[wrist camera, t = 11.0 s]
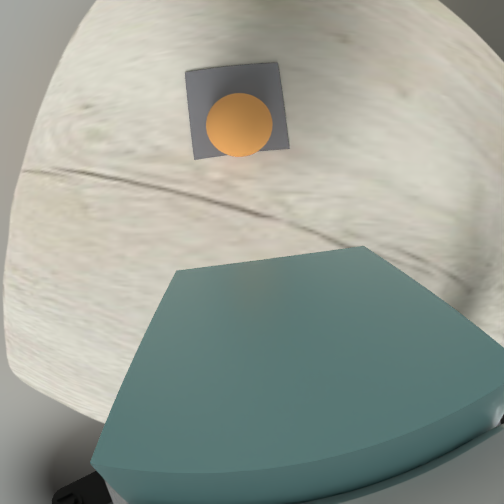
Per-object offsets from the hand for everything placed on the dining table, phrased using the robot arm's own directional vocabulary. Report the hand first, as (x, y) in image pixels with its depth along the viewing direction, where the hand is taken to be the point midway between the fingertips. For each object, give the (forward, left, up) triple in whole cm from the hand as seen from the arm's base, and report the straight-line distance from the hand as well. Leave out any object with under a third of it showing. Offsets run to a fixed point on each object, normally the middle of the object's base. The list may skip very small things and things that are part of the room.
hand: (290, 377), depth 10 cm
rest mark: (0, -13, -17) cm, 21 cm away
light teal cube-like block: (0, 0, -3) cm, 3 cm away
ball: (0, -11, -14) cm, 18 cm away
